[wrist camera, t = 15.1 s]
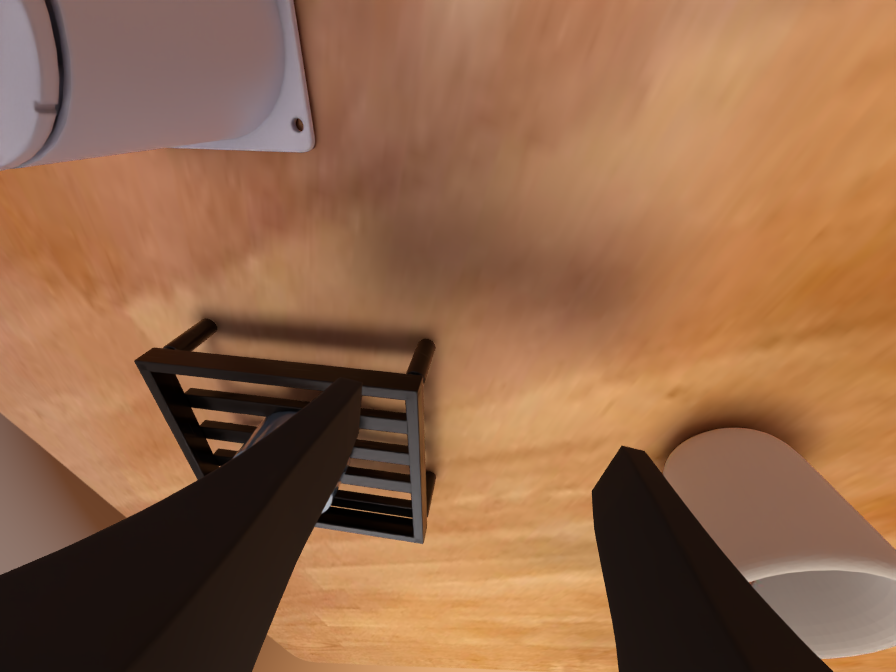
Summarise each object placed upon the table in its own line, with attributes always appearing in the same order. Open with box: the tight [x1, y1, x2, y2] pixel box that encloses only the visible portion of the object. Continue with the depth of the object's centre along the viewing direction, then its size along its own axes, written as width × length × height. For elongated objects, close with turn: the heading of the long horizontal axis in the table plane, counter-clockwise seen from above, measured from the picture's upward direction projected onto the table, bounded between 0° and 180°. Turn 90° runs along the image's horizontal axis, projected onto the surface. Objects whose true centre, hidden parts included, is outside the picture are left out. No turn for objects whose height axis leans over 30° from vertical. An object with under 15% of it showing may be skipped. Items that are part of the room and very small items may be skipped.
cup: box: [663, 428, 896, 659], centre depth 19 cm, size 11×8×8 cm
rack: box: [134, 319, 436, 544], centre depth 22 cm, size 12×14×4 cm
